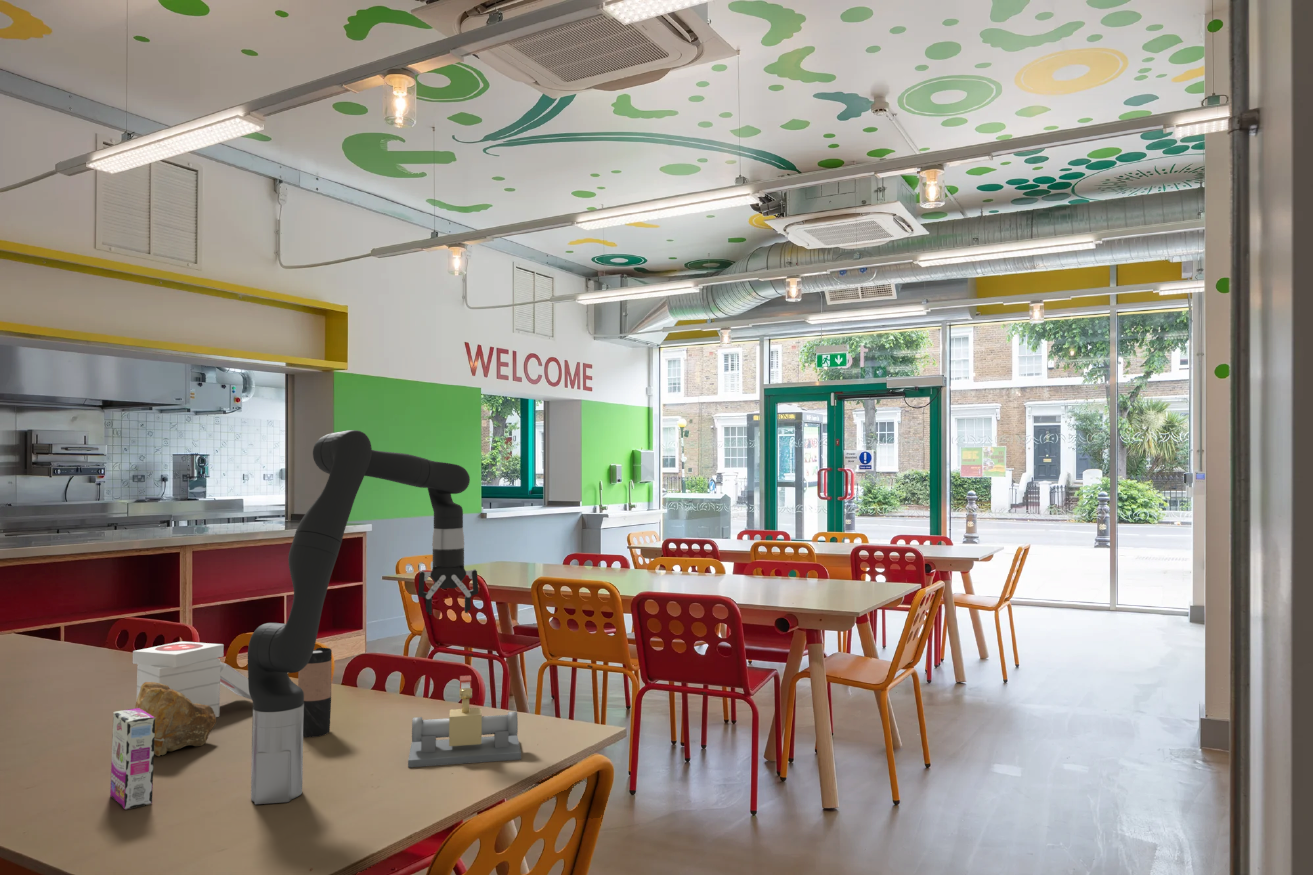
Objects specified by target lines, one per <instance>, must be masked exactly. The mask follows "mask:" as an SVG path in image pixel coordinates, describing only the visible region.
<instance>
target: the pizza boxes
mask: <svg viewBox="0 0 1313 875" xmlns="http://www.w3.org/2000/svg"><path fill="white" fill-rule="evenodd" d="M224 646H225V645H224V644H223V643H210V642H209V643H208V642H207V643H206V642H195V641H177V642H172V643H171V642H170V643H165V644H162V645H157V646H152V647H148V648H142V649H137V650H133V651H132V664H133V665H135V664H136V665H137V668H136V669H137V670H136V675H137V676H136V699H137V698H138V695H139V692H140V689H141V686H142V684H143V683H145V682H156V683H160V684H163V685H167V686H169V688H170V689H173V690H174V691H177V692H180V693H182V694H183V695H185V697H186V698H188V699H189V700H190V701H191V702H192V703H193V704H194V703H197V704H202V705H209V706H210V707H211V708H212V709H213V711H214V713H215V716H216V718H218V717H220V709H221V708H220V704H221V703H220V701H221V700H220V699H221V698H220V697H221V685H222V686H224V687H225V688H226V689H228V690H229V691H231V692H233V693H234V694H236V696H240V697H243V698H246V699H248V700H250V701H252V698H251V696H250V693H249V687H248V676H245V675H243V673H241V672H239V671H238V670H236V669H235V668H234V667H232V666H231V665H229V664H227V663H225V662H222V661H221V659H220V658H222V657H224V649H225V648H224Z"/></svg>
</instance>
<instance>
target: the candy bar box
mask: <svg viewBox="0 0 1313 875" xmlns="http://www.w3.org/2000/svg"><path fill="white" fill-rule="evenodd" d="M112 713H113V714H112V717H113V718H112V737H111V738H112V741H111V763H110V764H111V767H110V768H111V769H110V770H111V771H110V788H109V789H110V792H109V794H110V795H109V796H110V798H112V797H113V798H112V799H113V800H114V799H115V800H114V801H115V802H116V801H117V802H118V803H117V802H116V803H117V804H118V805H120V806H121V808H122V809H124V810H127V811H128V810H131V809H135V808H140V807H144V806H145V805H146V806H148V805H152V804H153V789H154V788H153V785H154V783H153V782H154V760H155V759H154V756H155V754H154V737H155V717H153V716H152V715H150V714H148V713H147V712H145V711H143V710H142V709H140V708H135V707H134V708H128V709H122V710H117V711H113V712H112Z"/></svg>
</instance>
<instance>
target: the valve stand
mask: <svg viewBox="0 0 1313 875" xmlns="http://www.w3.org/2000/svg"><path fill="white" fill-rule="evenodd" d="M411 722H412V723H411V728H412V729H411V743H410V747H409V748H410V749H409V755H408V759H407V768H420V767H431V766H432V767H433V766H445V765H446V766H447V765H460V764H461V765H462V764H463V765H464V764H476V763H487V762H488V763H491V762H503V761H506V762H507V761H516V760H518V761H519V760H522V751H521V747H520V741H519V736H518V728H519V724H518V722H519V720H518V711H508V712H507V714H502V715H501V714H500V715H484V716H482V707H475V708H474V707H473V708H470V698H469V699H461V708H456V709H449V718H434V719H432V718H431V719H423V717H422V716H421V717H420V716H419V717H417V716H416V717H412V721H411ZM487 735H488V736H487ZM489 735H491V736H489ZM492 735H493V736H492ZM439 738H443V739H439ZM444 738H447V739H444Z"/></svg>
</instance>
